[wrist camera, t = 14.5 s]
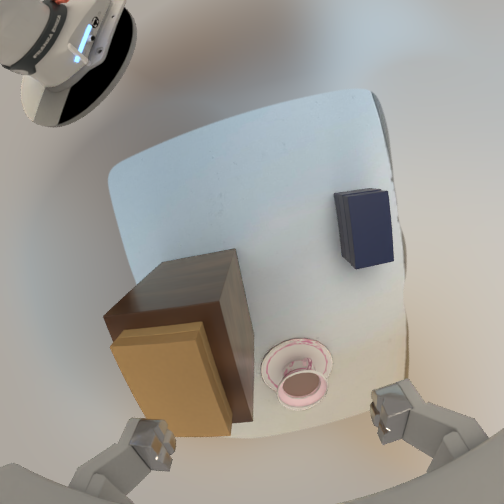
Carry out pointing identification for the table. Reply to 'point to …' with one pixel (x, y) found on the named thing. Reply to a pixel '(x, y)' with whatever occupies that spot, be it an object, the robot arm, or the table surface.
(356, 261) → the navy book
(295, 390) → the teacup
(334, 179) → the table surface
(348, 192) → the navy books
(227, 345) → the book stand
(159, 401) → the tan books
